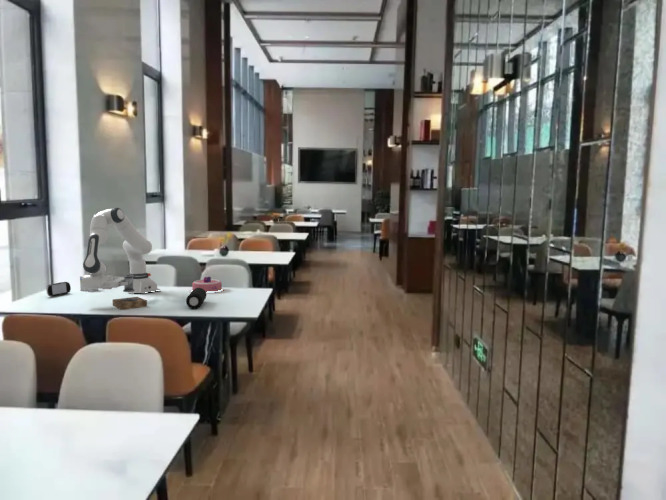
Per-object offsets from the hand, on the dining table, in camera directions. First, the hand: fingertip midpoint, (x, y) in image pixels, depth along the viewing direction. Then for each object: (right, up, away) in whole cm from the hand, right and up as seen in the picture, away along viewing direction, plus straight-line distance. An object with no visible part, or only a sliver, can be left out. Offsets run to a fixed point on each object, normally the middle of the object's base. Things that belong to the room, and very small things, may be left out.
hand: (130, 282), depth 356 cm
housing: (-1, -5, 0) cm, 6 cm away
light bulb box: (-50, -9, +56) cm, 76 cm away
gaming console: (-63, -11, +35) cm, 73 cm away
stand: (-1, -15, +2) cm, 15 cm away
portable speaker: (+41, -15, +6) cm, 44 cm away
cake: (+36, -10, +59) cm, 70 cm away
